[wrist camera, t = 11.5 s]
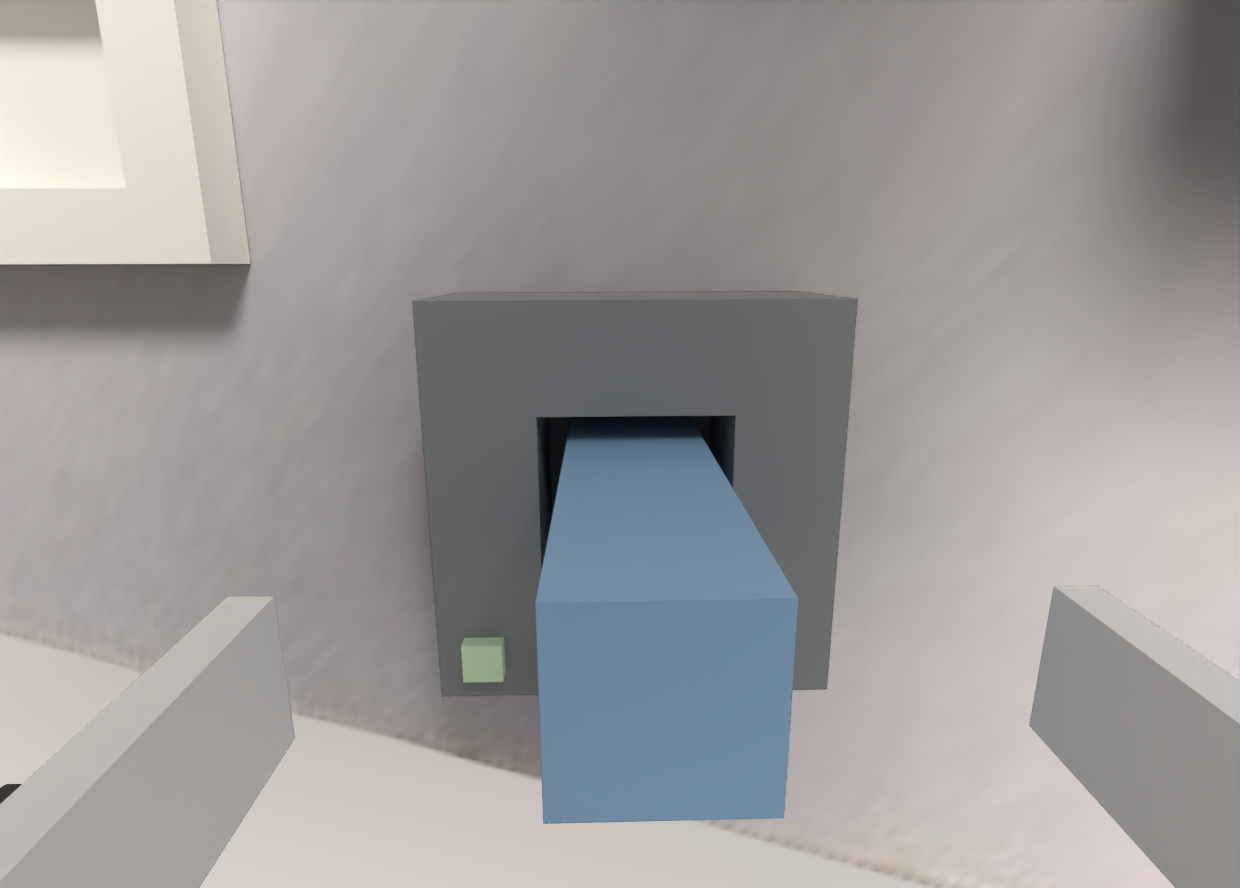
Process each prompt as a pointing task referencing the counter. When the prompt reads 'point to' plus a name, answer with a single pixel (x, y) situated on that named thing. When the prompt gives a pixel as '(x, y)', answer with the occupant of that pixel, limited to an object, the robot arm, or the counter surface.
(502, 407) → the port
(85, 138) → the holster
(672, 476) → the plug
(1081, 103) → the counter surface
